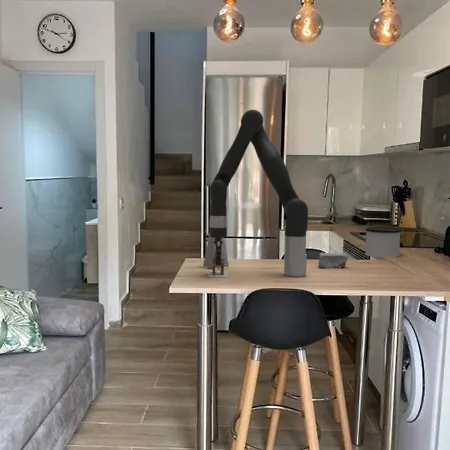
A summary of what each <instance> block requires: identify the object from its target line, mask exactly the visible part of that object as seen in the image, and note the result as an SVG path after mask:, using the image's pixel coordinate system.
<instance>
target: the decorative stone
mask: <svg viewBox="0 0 450 450" xmlns="http://www.w3.org/2000/svg"><path fill="white" fill-rule="evenodd" d="M348 258H349V255H348V254H346V253H342V252H341V253H340V252H339V253H335V252H319V257H318V267H319V269H321V268H338V269H340V268H339V267H344V268H345V267H346V264H347V262H348Z"/></svg>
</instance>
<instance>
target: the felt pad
mask: <svg viewBox="0 0 450 450" xmlns="http://www.w3.org/2000/svg"><path fill="white" fill-rule="evenodd" d="M228 277H229V276H228V272H227V271H224V275H221V271H215V275H213V274H212V271H208V278H228Z"/></svg>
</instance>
